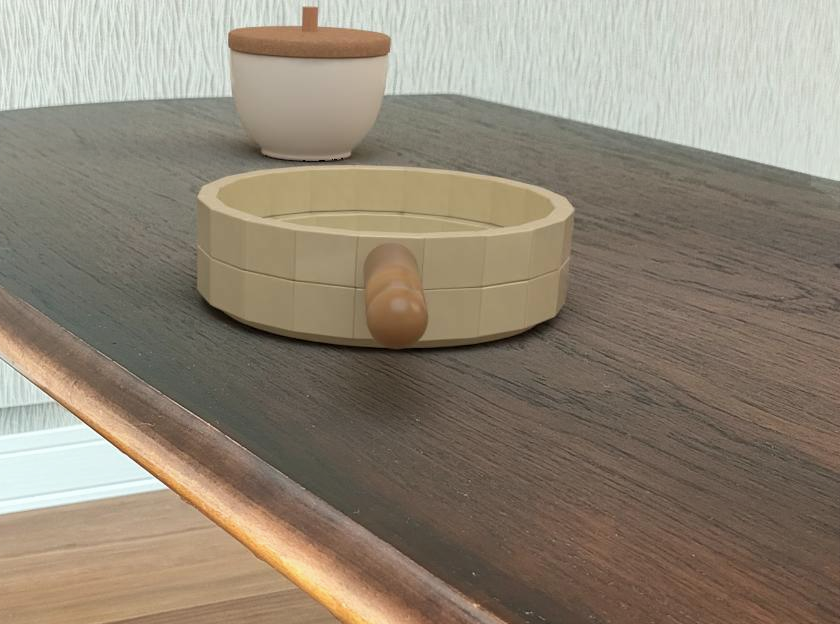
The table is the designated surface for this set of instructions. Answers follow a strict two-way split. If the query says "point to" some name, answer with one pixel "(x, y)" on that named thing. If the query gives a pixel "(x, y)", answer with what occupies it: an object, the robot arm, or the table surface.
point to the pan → (372, 226)
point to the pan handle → (394, 296)
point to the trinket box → (308, 86)
